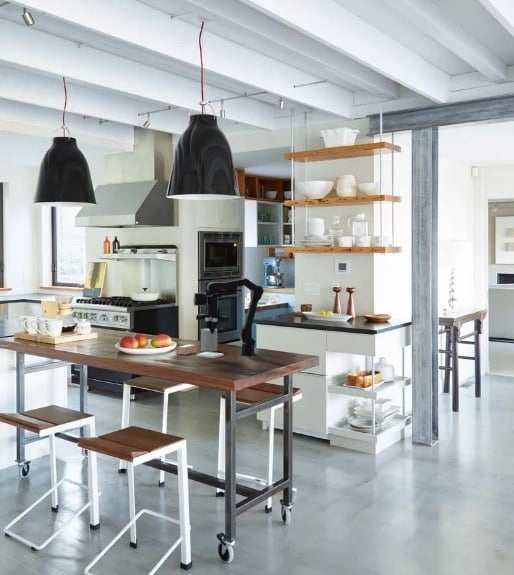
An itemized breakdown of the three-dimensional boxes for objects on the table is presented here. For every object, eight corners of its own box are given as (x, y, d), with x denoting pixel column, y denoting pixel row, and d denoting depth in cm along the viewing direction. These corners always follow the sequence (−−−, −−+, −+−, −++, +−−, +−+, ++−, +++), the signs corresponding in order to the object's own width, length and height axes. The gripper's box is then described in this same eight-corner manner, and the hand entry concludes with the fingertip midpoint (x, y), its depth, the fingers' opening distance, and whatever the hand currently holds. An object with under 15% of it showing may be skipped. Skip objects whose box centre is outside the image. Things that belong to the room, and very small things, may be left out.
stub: (195, 352, 364) (195, 344, 364) (184, 354, 356) (184, 347, 355) (189, 351, 367) (189, 344, 366) (178, 353, 358) (178, 346, 358)
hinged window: (223, 355, 354) (223, 353, 354) (212, 358, 346) (212, 355, 346) (207, 353, 360) (207, 351, 360) (196, 356, 351) (196, 353, 351)
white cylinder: (209, 352, 365) (209, 331, 364) (197, 350, 371) (197, 329, 370) (220, 350, 373) (220, 329, 372) (208, 348, 378) (208, 327, 377)
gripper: (235, 305, 352) (234, 333, 353) (207, 303, 362) (207, 330, 363) (223, 306, 343) (223, 335, 344) (195, 304, 352) (195, 332, 353)
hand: (212, 333), depth 351 cm, fingers closed
